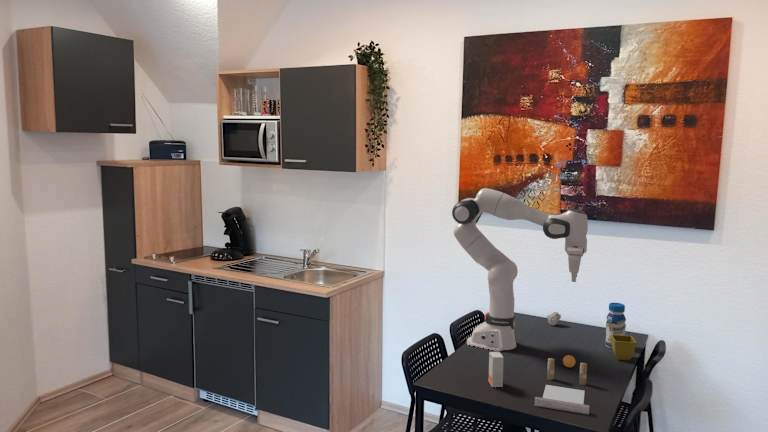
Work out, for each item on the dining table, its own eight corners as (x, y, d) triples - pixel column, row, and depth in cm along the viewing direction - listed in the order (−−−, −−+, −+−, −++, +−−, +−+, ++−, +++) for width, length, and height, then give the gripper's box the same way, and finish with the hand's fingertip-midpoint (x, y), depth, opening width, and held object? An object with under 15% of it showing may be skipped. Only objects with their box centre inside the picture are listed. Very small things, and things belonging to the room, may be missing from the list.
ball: (562, 368, 235) (562, 356, 234) (563, 364, 240) (563, 352, 239) (574, 370, 233) (575, 358, 233) (575, 365, 238) (576, 354, 237)
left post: (546, 379, 223) (547, 359, 222) (547, 377, 225) (548, 357, 224) (553, 380, 222) (554, 360, 221) (553, 378, 224) (554, 358, 224)
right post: (579, 384, 219) (580, 364, 218) (579, 382, 221) (580, 362, 220) (585, 385, 218) (587, 365, 217) (586, 383, 220) (587, 363, 219)
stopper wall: (534, 405, 200) (534, 398, 199) (535, 403, 202) (535, 396, 201) (588, 414, 193) (589, 407, 193) (589, 412, 195) (589, 405, 195)
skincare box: (488, 381, 220) (489, 351, 219) (498, 381, 221) (500, 351, 219) (491, 388, 214) (492, 357, 213) (503, 387, 215) (504, 357, 213)
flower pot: (635, 362, 242) (636, 342, 241) (613, 361, 244) (614, 340, 243) (630, 355, 251) (632, 335, 250) (609, 354, 253) (611, 334, 252)
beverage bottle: (621, 344, 266) (623, 302, 264) (626, 350, 258) (629, 307, 256) (602, 343, 267) (604, 301, 265) (607, 349, 259) (610, 306, 256)
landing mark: (542, 399, 205) (542, 399, 205) (545, 385, 218) (545, 384, 218) (583, 406, 200) (583, 406, 200) (584, 391, 213) (584, 390, 213)
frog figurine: (560, 327, 290) (561, 314, 289) (546, 326, 292) (546, 313, 291) (560, 324, 296) (561, 311, 295) (546, 322, 298) (547, 309, 297)
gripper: (569, 243, 254) (568, 274, 256) (566, 250, 235) (565, 283, 237) (584, 244, 252) (582, 275, 253) (582, 251, 233) (581, 284, 234)
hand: (574, 279), depth 245 cm, fingers open, 8 cm apart
